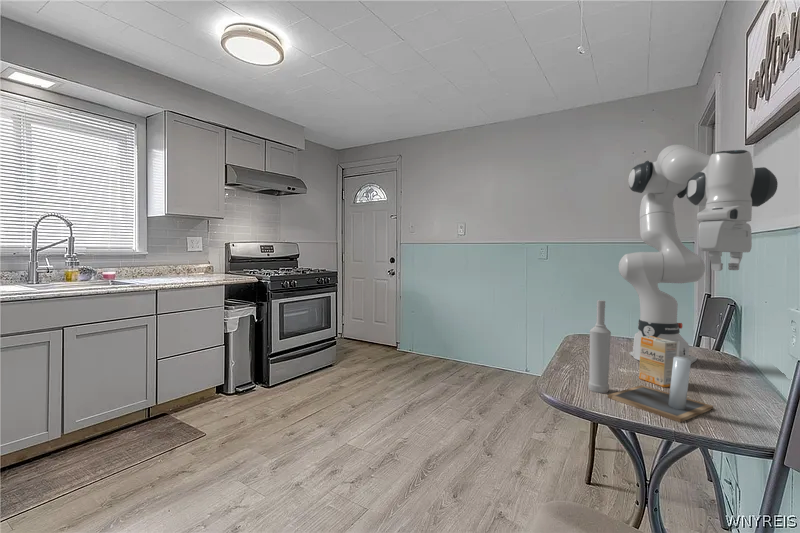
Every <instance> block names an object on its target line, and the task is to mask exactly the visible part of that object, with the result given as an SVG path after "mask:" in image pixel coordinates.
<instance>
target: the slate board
mask: <svg viewBox="0 0 800 533" xmlns="http://www.w3.org/2000/svg"><path fill="white" fill-rule="evenodd" d="M669 394H670V392H667V391H664V390H660V389H656V388H653V387H649V386H647V385H646V386H645V385H642V384H640V385H638V386H633V387H631V388H627V389H623V390H619V391H616V392H613V393H609V394H607V399H611V400H613V401H617V402H619V403H622V404H626V405H628V406H631V407H634V408H637V409H639V410H643V411H646V412H648V413H651V414H655V415H658V416H660V417H664V418H666V419H669V420H672V421H675V422H677V423H682V422H685V421H687V420H690V419H691V418H695V417H697V416H700V415H702V414H705V413H706V412H710V411H712V410H713V409H714V405H711V404H708V403H705V402H701V401H699V400H694V399H691V398H688V397H687V399H686V408H685V409H684V410H679V409H675V408H672V407H670V406H669V405H668V403H669ZM711 409H712V410H711Z"/></svg>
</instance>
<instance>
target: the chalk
mask: <svg viewBox="0 0 800 533" xmlns="http://www.w3.org/2000/svg"><path fill="white" fill-rule="evenodd" d="M691 365H692V364H691V360H690V359H688V358H684V357H674V358H673V367H672V376H671V385H670V387H669V393H670V394H669V403H668V405H669V406H670V407H672V408H675V409H679V410H684V409H685V408H686V399H687V398H688V391H689V390H688V389H689V382H690V380H689V379H690V371H691Z"/></svg>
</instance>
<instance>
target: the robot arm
mask: <svg viewBox="0 0 800 533" xmlns="http://www.w3.org/2000/svg"><path fill="white" fill-rule="evenodd" d="M753 163H754V162H753V158H752V154H751V152H750V151H748V150H746V149H736V150H735V149H732V150H720V151H715V152H713V153H712V154H711V155H710V154H707V153H704V152H702V151H699V150H697V149H695V148H694V147H691V146H688V145H685V144H672V145H671V144H670V145H668V146H666V147H664V148H663V149H662V150H660V152H659V153H658V156H657V159H656V160H655V161H653V162H652V161H649V160H646V161H644V162H643V163H639V164H637V165H635V166H633V167H632V168H631V171H630V172H629V174H628V175H629V176H628V179H627V181H628V186H629V189H630V190H631V191H632V192H634V193H639V194H643V193H645V194H644V195H643V196H642V199H641V201H640V204H639V205H640V207H639V236H640V239H641V241H643V243H644V244H645V245H648V246H650V247H652V248H654V249H655V250H657V251H636V252H629V253H624V255H623V256H622V257H621V258H620V260H619V262H618V272H619V274H620V275H621V277H622V278H623V280H625V281H626V282H628V283H630V285H631V286H632V287H633V288H634V290H635V291H636V293H637V296H638V299H639V319H638V322H637V326H638V327H637V328H638V332H636V333H634V339H633V347H632V351H629V355H630V356H632V357H633V358H634V359H635V360H637V361H639V362H640V345H641V337H643V336H653V337H657V338H661V339H665V340H669V341H673V342H677V355H676V357H684V358H688V359H690V360H691V365H692V364H693V363H695V362H696V361H697V357H696V356H693V355H689V354H690V348H689V347H690V345H689V342H687V341H686V339H685V338H684V337H683V336H682V335H681V334H680V333H681V332H680V329H681V330H682V329H683V323H682V322H678V301H677V299H676V298H675V297H674V296H672V295H670V294H668V293H666V292H664V291H662V290H660V289H659V285H658V284H662V283H663V284H688V283H694V282H698V281H700V279H702V277H703V276H704V274H705V272H706V265H705V261H704V260H703V258H702V257H701V256H700V255H699V254H697V253H695V252H693V251H692V250H690V249H689V248H688V247H687V246H686V245H685V244H684V243H683V242H682V241H681V239H680V237H679V235H678V230H677V225H676V224H677V223H676V215H675V208H674V201H675V198H676V196H677V197H678V198H679V199H683V198H685V196H686V199H687V200H688V201H689V202H690V203H691V204H692V205H694V206H697V207H698V206H699V207H705V208H703V209H702V210H701V211H699V212H697V213H696V214H697V215H696V220H697V221H698V222H699V224H698V235H697V236H698V247H699V249H700V251H701V252H708V257H709V260H710V261H709V262H710V266H711V268H710V269H711V271H716V272H718V271H719V272H720V271H722V270H723V267H724V266H723V265H724V263H722V258H721V257H722V256H723V253H729V257H730V260H729V263H728V270H729V271H738V270H740V264H741V261H742V259H743V253H750V252H751V250H752V244H753V243H752V227H751V225H750V223H749V222H751V221H752V214H753V213H752V212H753V208H754V207H760V206H762V205H764V204H765V203H766V202H768V201H769V200H771V199H772V198H773V197H774V196H775V194H776V193H777V190H778V179H777V177H776V175H775V174H774V173H773V172H772V171H771V170H770V169H769V168H767V167H754V166H753Z"/></svg>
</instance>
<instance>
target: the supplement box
mask: <svg viewBox="0 0 800 533" xmlns="http://www.w3.org/2000/svg"><path fill="white" fill-rule="evenodd" d="M676 355H677V342H673V341H669V340H665V339H661V338H657V337H653V336H643V337H641V345H640V361H639V369H638V370H639V371H638V373H639V374H638V378H639V380H642V381H645V382H648V383H652V384H654V385H657V386H659V387H662V388H668V387H669V388H670V385H671V376H672V367H673V358H674V357H676Z"/></svg>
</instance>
